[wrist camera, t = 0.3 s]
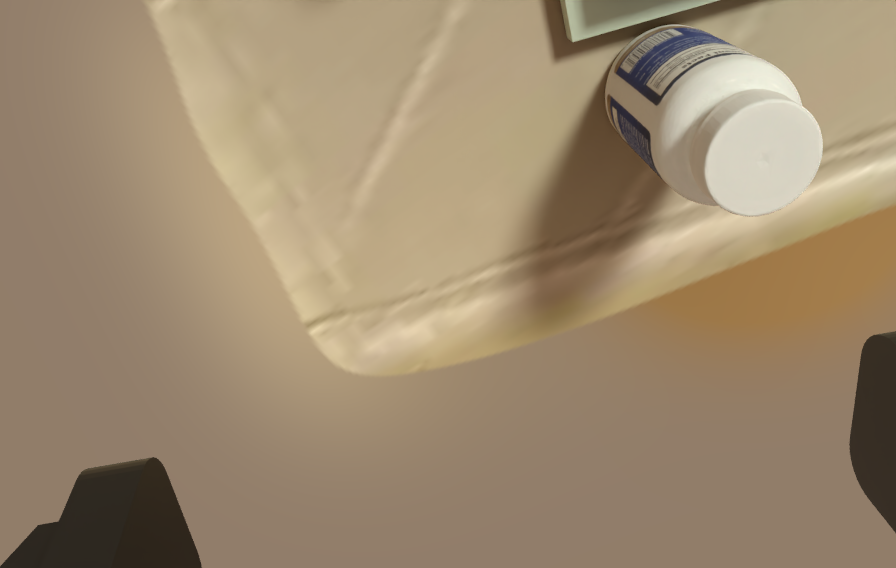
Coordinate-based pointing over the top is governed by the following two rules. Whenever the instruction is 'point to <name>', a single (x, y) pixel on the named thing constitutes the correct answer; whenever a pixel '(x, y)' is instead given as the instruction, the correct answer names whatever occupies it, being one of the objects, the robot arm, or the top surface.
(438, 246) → the top surface
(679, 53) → the pill bottle
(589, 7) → the pale green tray
